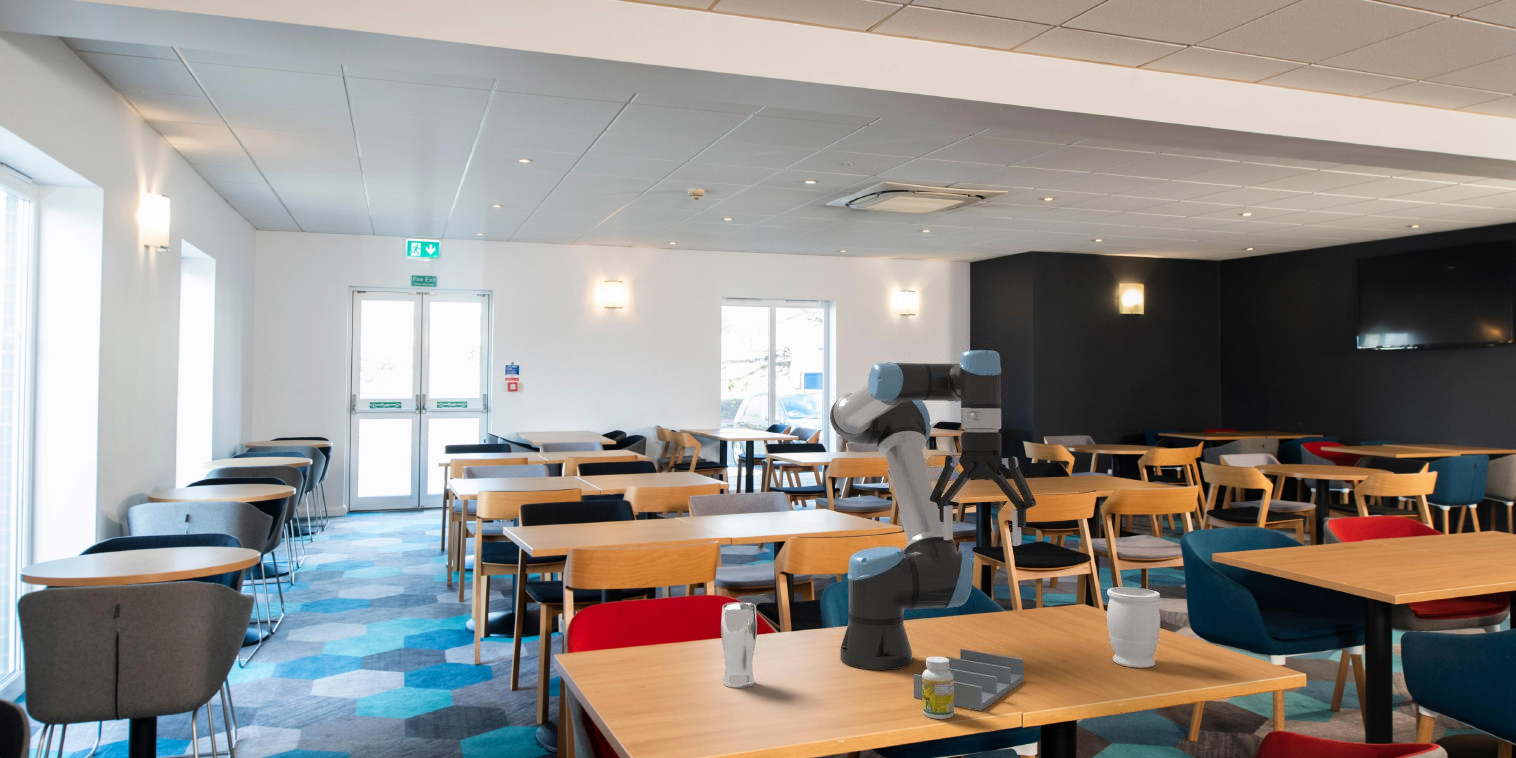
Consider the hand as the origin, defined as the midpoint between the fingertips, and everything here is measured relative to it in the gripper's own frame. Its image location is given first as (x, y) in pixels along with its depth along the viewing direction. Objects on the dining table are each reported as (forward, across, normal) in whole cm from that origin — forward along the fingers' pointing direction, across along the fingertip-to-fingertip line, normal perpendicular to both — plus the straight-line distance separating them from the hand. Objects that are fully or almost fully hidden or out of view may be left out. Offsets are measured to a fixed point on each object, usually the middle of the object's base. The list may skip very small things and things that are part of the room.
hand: (982, 542), depth 175 cm
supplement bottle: (+28, -2, -18) cm, 33 cm away
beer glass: (+28, -41, -23) cm, 55 cm away
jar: (+28, +20, +36) cm, 50 cm away
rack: (+28, -2, -1) cm, 28 cm away
